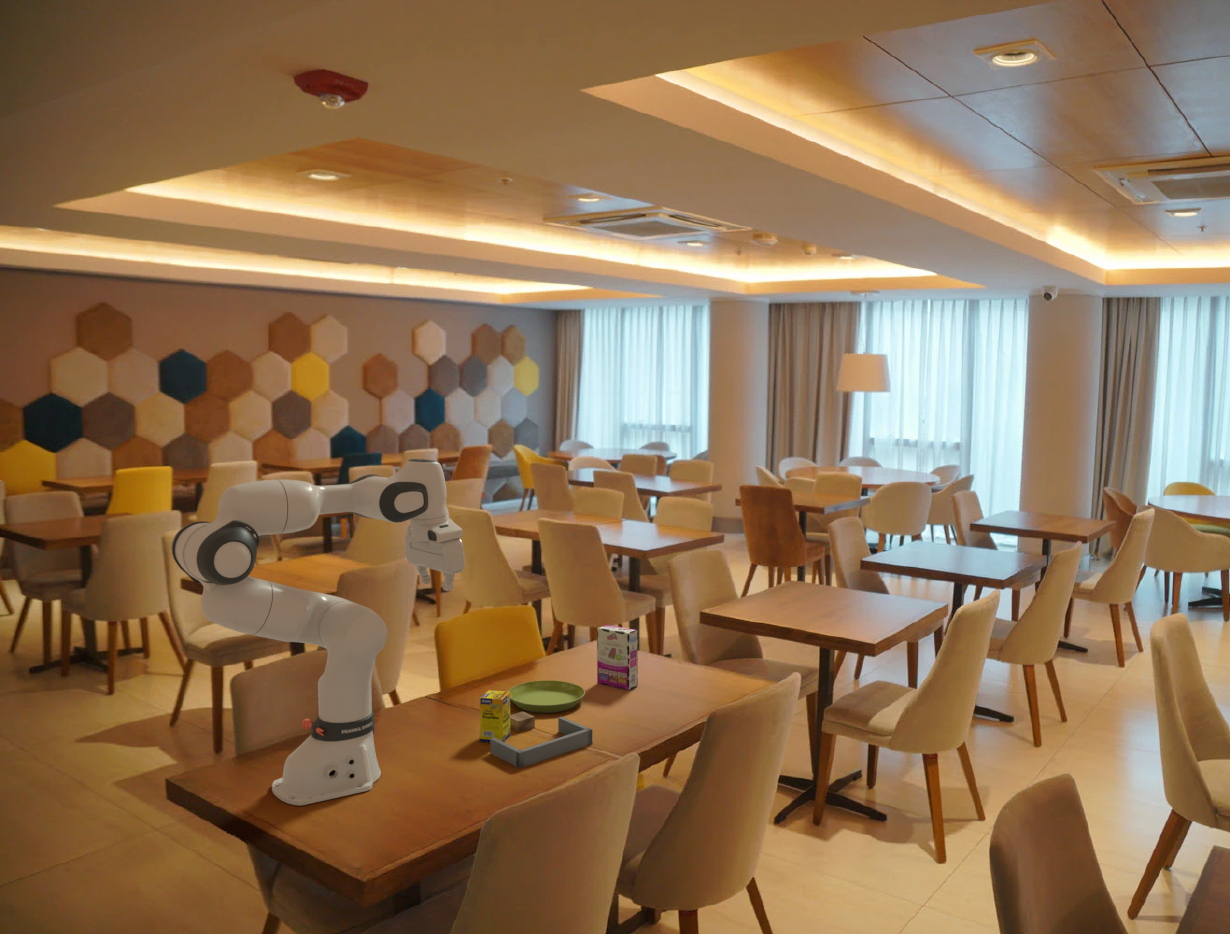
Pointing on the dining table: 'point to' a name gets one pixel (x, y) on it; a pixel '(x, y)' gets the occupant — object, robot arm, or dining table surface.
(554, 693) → the saucer
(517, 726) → the walnut tile
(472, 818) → the dining table surface
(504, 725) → the supplement box
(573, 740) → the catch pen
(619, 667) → the candy bar box
